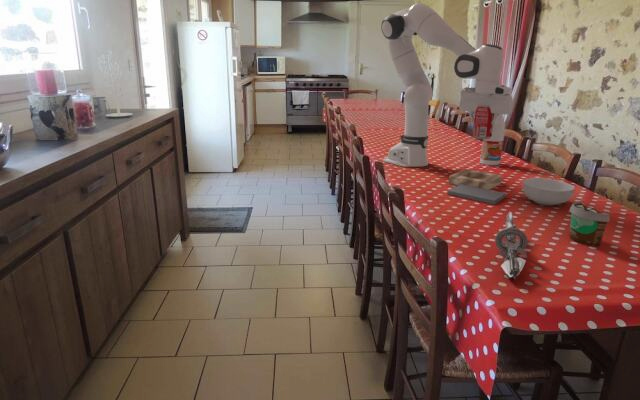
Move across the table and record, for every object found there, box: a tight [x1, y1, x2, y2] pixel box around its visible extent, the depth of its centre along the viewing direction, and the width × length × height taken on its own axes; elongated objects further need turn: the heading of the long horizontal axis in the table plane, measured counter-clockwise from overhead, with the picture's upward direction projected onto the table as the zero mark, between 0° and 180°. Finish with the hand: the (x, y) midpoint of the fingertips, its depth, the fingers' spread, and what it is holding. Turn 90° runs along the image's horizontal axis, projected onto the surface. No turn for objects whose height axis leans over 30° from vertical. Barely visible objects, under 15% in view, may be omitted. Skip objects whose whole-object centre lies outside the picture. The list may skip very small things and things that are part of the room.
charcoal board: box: [447, 184, 507, 205], centre depth 165 cm, size 18×12×2 cm, turn 49°
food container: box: [569, 200, 611, 247], centre depth 124 cm, size 12×6×10 cm, turn 5°
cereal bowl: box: [522, 177, 575, 206], centre depth 157 cm, size 17×17×7 cm
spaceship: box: [494, 211, 528, 280], centre depth 115 cm, size 8×35×8 cm
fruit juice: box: [479, 114, 506, 166], centre depth 211 cm, size 9×9×28 cm
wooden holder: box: [448, 168, 503, 190], centre depth 180 cm, size 16×16×4 cm
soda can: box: [472, 106, 494, 140], centre depth 172 cm, size 7×7×13 cm
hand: (482, 123), depth 172 cm, fingers closed on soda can, 6 cm apart
